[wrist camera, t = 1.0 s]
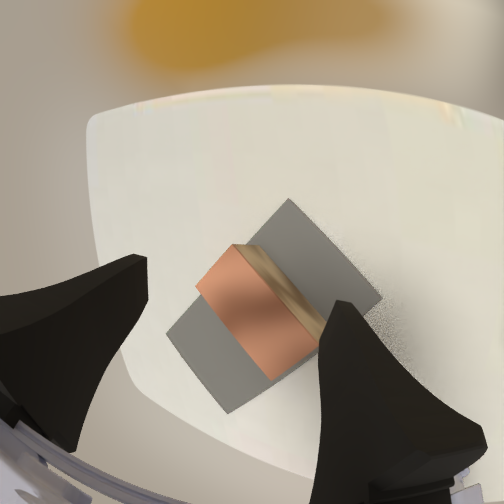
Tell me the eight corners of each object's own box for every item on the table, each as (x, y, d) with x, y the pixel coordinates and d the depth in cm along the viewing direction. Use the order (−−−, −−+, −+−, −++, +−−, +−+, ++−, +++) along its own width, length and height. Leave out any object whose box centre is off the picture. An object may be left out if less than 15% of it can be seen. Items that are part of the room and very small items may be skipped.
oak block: (331, 327, 23) (318, 345, 19) (291, 359, 25) (271, 381, 20) (259, 245, 26) (231, 244, 22) (225, 280, 28) (195, 286, 23)
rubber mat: (382, 297, 22) (382, 298, 21) (228, 413, 28) (227, 414, 28) (289, 198, 25) (288, 198, 25) (167, 333, 32) (165, 333, 32)
